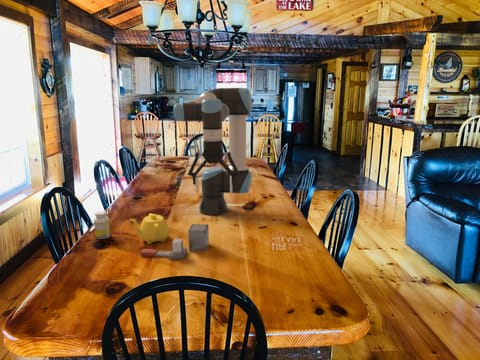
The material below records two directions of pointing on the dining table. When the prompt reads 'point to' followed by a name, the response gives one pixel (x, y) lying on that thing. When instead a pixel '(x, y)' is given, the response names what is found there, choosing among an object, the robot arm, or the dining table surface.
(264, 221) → the dining table surface
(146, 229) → the teapot
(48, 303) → the dining table surface
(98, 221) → the pill bottle
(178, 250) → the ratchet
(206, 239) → the rimmed grey cube
